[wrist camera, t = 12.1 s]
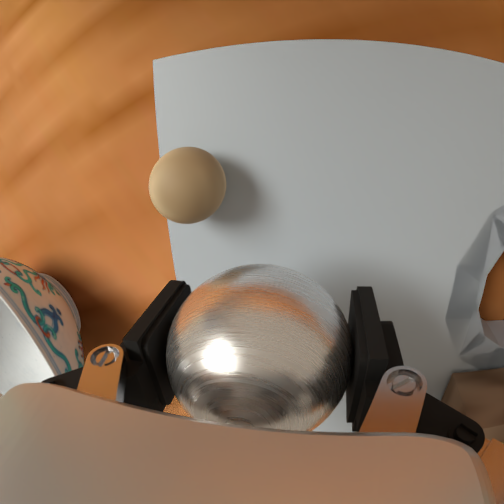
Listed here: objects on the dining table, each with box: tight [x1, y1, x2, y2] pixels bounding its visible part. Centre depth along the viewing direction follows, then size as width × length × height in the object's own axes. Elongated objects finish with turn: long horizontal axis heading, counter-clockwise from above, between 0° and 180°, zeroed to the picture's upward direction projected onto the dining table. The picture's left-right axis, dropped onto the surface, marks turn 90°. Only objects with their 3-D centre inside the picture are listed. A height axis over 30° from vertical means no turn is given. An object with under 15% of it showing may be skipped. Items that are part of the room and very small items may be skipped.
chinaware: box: [0, 258, 84, 395], centre depth 21 cm, size 15×15×8 cm
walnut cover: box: [441, 368, 504, 444], centre depth 14 cm, size 9×9×5 cm
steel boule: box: [166, 264, 353, 431], centre depth 10 cm, size 6×6×6 cm
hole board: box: [153, 39, 504, 432], centre depth 15 cm, size 28×23×3 cm
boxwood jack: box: [149, 147, 226, 224], centre depth 13 cm, size 3×3×3 cm
